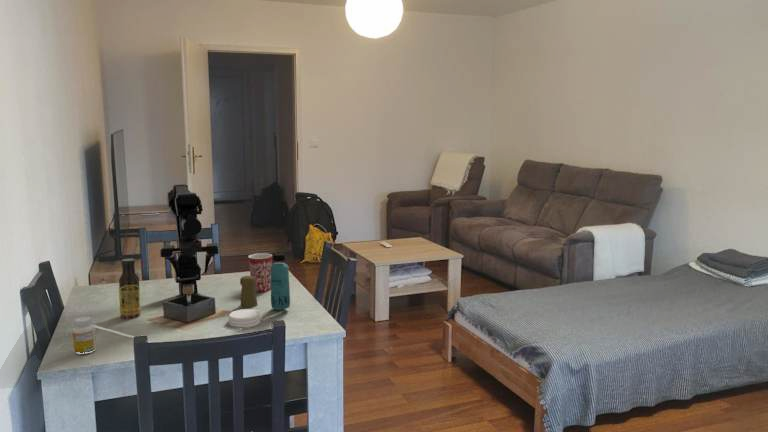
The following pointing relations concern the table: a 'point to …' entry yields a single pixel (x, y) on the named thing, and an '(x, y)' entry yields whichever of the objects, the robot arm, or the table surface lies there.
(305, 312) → the table surface
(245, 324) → the white round container
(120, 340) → the table surface
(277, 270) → the beverage bottle
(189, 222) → the robot arm
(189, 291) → the plunger
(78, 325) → the supplement bottle
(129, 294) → the sauce bottle
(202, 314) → the shallow square tray
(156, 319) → the tan square board
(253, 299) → the pepper shaker
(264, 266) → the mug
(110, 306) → the table surface
